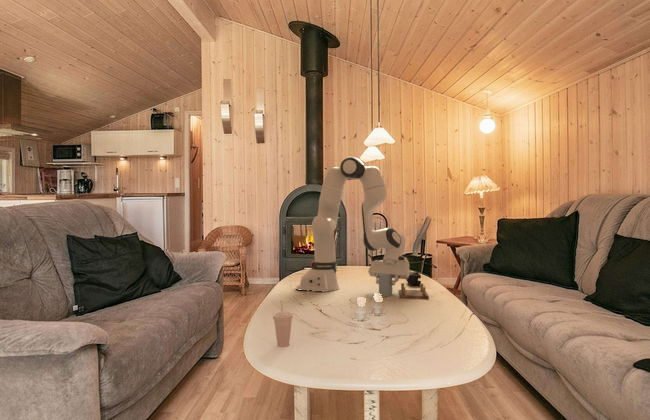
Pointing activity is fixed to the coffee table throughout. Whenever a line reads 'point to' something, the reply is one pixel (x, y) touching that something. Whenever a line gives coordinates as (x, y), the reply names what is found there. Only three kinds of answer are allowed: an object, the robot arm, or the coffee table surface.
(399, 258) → the robot arm
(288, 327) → the smoothie
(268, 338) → the coffee table surface
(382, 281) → the slate block
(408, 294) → the stand
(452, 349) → the coffee table surface
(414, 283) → the end cap
